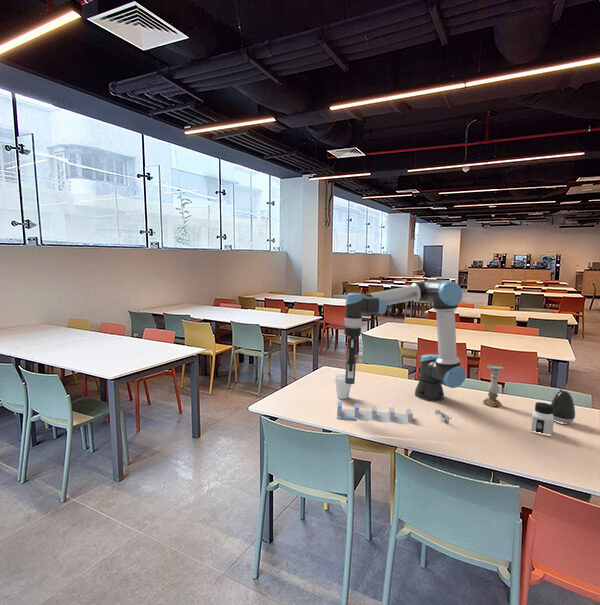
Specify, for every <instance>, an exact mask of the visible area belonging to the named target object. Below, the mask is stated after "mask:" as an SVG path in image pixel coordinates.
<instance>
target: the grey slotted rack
mask: <svg viewBox="0 0 600 605" xmlns="http://www.w3.org/2000/svg"><path fill="white" fill-rule="evenodd" d="M336 407H337V409H336V410H337V412H336V419H337V420H349V421H357V420H363V421H374V422H382V423H383V422H384V423H393V424H394V423H395V424H404V425H405V424H407V425H414V423H413V417H414V414H413V411H412V409H411V408H406V410H405V411H406V412H405V413H396V412H395V409H394V407H393V406H392V407H391V406H388V412H385V411H384V412H383V411H378V409H377V405H371V410H363V409H361V410H360V403H359V402H358V403H357V402H355V403H354V408H353V409H352V408H349V409H348V408H343V401H337V406H336Z"/></svg>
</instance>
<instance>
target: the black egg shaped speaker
mask: <svg viewBox="0 0 600 605" xmlns="http://www.w3.org/2000/svg"><path fill="white" fill-rule="evenodd" d="M550 405H552V406H553V413H552V415H553V418H554V420H556V421H559V422H563V423H570V424H571V423H572V422H573V421H574V420H575V418H576V409H575V402H574V400H573V397H572V395H571V393H570V392H568V391H566V390H563V389H559V391H558V392H557V393H556V394H555V395H554V397H553V398H552V401H551V402H550Z"/></svg>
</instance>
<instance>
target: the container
mask: <svg viewBox="0 0 600 605" xmlns="http://www.w3.org/2000/svg"><path fill="white" fill-rule="evenodd" d="M552 413H553V406H552V405H551V403H548V402H545V401H544V402H543V401H537V402H536V403H535V406H534V410H533V411H532V416H531V425H530V432H531V431H536V432H541V433H545V434H550V435H552V436H553V432H554V423H555V421H554V418H553V415H552Z"/></svg>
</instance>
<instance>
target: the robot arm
mask: <svg viewBox="0 0 600 605" xmlns="http://www.w3.org/2000/svg"><path fill="white" fill-rule="evenodd" d="M462 299H463V290H462V287H461V286H460V285H459V284H458V283H457V282H455V281H451V280H447V279H445V280H444V279H428V280H423V281H418V282H413V283H411V285H409V286H403V287H398V288H391V289H387V290H381V291H375V292H371V293H365V294H363V293H360V292H350V293H347V294H346V298H345V315H344V319H343V321H344V326H345V327H344V332H343V334H344V336H347V337H349V338H347V343H348V344H347V348H348V356H349V361H348V363H347V364H348V373H347V378H353V373H354V357H355V350H356V349H357V348H356V347H357V338H356V337H360V336H361V335H362V334H361V333H362V322H363V321H362V320H363V315H381V314H384V313H386V311H387V309H388V306H390V305H395V304H400V303H405V302H411V301H414V302H430V303H432V309H433V310H434V311H435V314H436V332H437V350H438V354H428V353H427V354H423V355H421V356H420V363H419V364H420V366H419V377H418V378H419V379H418V383H417V386H416V387H415V390H414V396H415V397H417V398H419V399H422V400H426V401H434V402H436V401H437V402H439V401H442V400H444V399H445V391H444V388H443V386H445V387H447V388H448V387H449V388H451V389H455V388H458V387H460V386H462V384H463V383H464V382H465V380H466V377H467V372H466V370H465V368H463V366H461V359H460V358H459V357H458V356H457V355H458V354H457V352H458V350H457V336H456V335H457V333H456V331H457V330H456V313H455V311H456V310H457V309H458V307H459V306H458V305H459V304H460V303H461V301H462Z"/></svg>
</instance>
